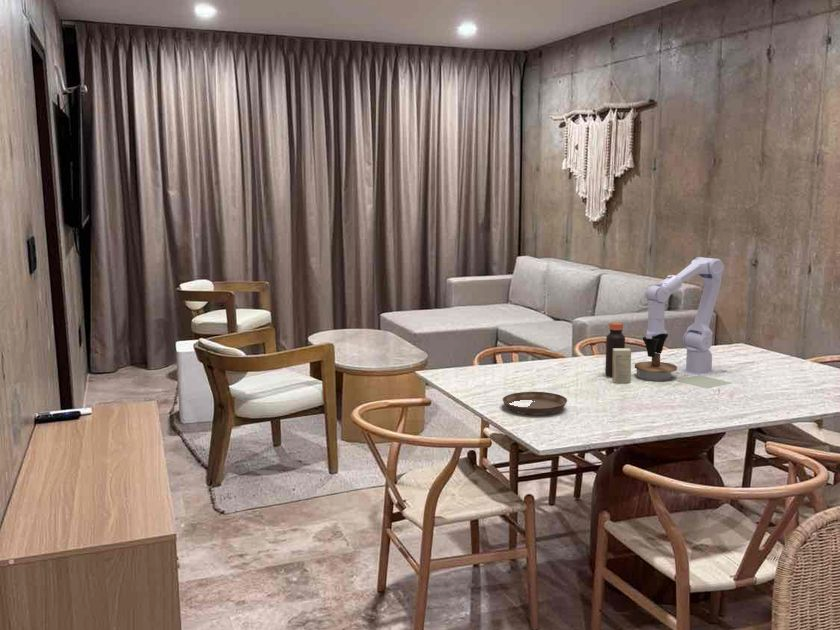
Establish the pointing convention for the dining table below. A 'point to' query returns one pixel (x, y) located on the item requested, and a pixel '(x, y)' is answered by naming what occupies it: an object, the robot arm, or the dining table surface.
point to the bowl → (653, 375)
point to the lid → (656, 365)
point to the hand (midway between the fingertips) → (654, 354)
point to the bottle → (613, 344)
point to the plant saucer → (536, 402)
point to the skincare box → (621, 365)
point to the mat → (703, 381)
